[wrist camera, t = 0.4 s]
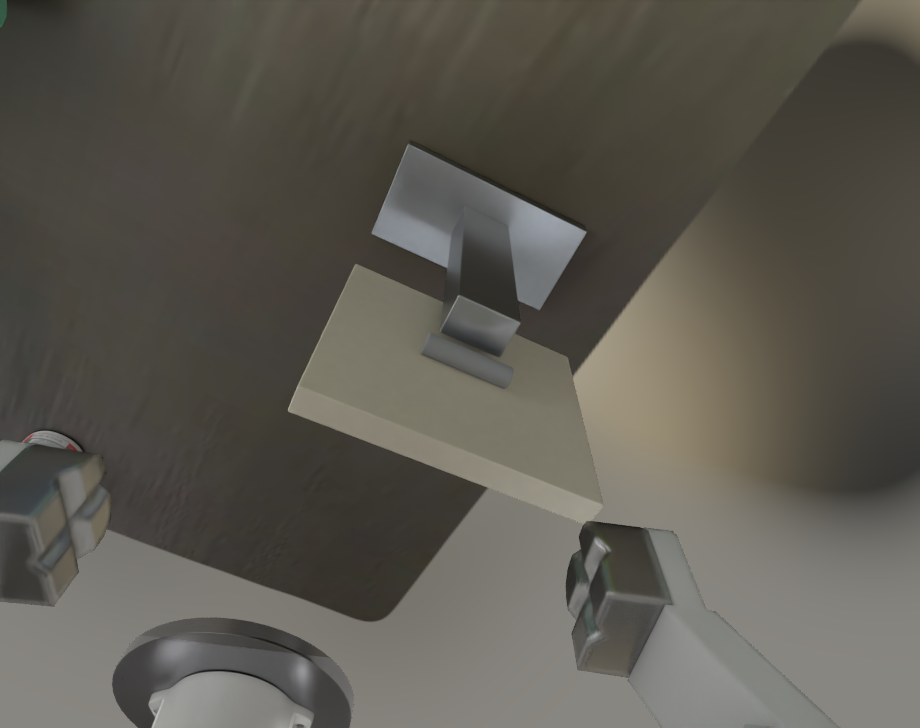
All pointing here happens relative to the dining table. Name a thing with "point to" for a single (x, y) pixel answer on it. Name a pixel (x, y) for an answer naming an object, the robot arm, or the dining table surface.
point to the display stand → (476, 244)
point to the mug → (3, 11)
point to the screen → (450, 398)
